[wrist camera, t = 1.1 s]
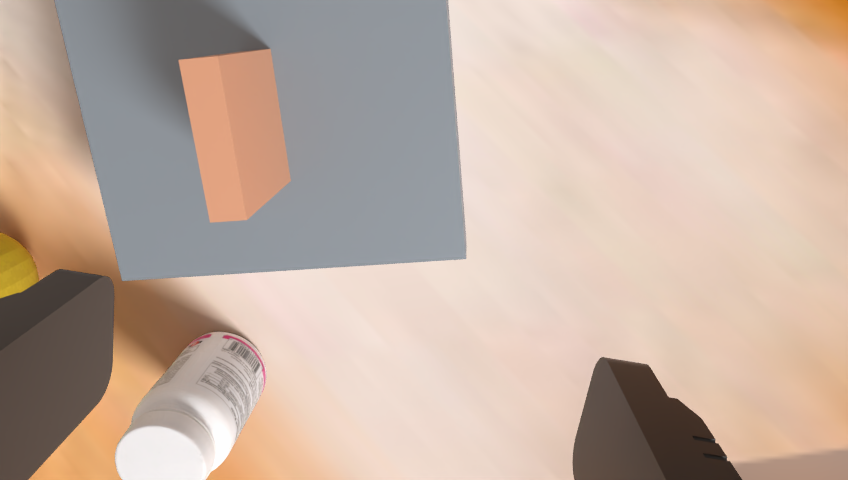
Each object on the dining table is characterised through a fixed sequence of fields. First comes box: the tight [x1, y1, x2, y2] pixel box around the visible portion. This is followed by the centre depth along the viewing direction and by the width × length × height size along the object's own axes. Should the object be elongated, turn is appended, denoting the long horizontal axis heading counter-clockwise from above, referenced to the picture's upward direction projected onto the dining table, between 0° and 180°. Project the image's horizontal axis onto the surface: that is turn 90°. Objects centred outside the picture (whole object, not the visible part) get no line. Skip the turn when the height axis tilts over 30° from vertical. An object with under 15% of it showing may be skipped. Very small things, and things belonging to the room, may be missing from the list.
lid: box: [54, 0, 466, 281], centre depth 24 cm, size 14×12×8 cm
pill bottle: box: [115, 332, 266, 480], centre depth 33 cm, size 5×5×8 cm
